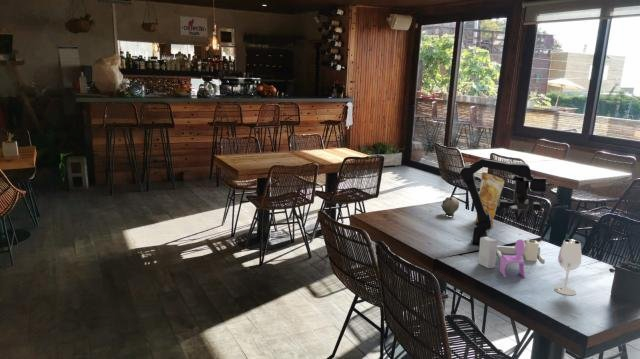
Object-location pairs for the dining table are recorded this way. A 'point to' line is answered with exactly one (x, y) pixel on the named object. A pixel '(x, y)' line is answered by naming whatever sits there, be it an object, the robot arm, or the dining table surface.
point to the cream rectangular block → (531, 250)
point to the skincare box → (487, 252)
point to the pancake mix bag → (490, 193)
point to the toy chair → (514, 258)
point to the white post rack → (514, 252)
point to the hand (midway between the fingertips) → (517, 222)
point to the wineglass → (569, 262)
